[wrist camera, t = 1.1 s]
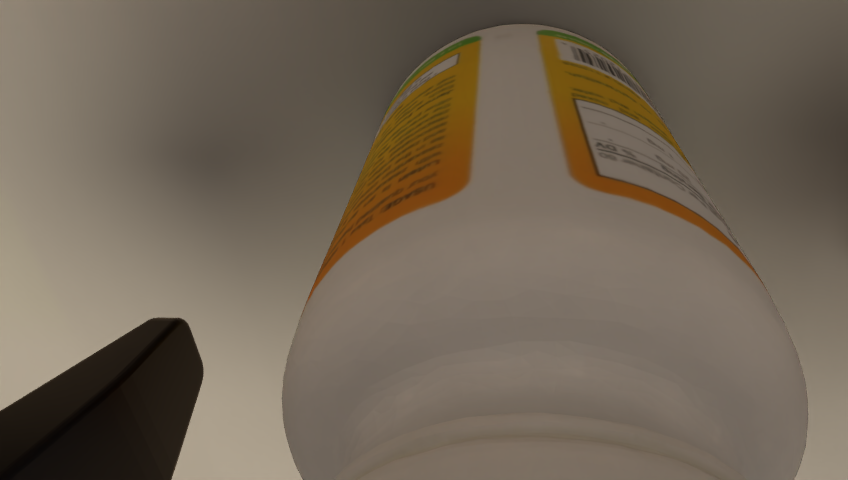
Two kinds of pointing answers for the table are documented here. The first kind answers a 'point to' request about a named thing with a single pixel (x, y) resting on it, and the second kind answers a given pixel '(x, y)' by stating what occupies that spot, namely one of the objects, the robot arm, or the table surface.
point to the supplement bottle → (537, 291)
